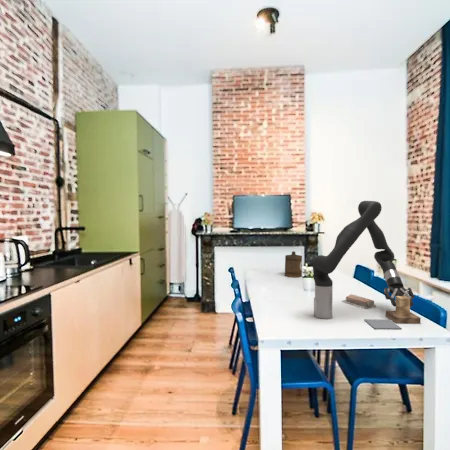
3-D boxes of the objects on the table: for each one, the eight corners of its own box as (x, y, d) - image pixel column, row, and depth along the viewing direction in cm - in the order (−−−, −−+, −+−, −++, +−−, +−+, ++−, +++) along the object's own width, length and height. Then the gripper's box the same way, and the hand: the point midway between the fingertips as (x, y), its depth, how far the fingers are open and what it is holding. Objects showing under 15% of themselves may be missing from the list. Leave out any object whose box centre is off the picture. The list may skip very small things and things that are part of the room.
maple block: (400, 315, 171) (400, 298, 171) (395, 312, 176) (395, 296, 176) (409, 315, 171) (410, 298, 171) (404, 312, 176) (405, 296, 176)
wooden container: (304, 277, 288) (304, 252, 288) (289, 277, 285) (289, 252, 284) (297, 274, 303) (297, 250, 302) (282, 274, 299) (282, 250, 299)
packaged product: (377, 299, 197) (365, 301, 193) (376, 307, 198) (365, 310, 193) (353, 293, 213) (341, 294, 209) (353, 300, 214) (341, 302, 209)
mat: (374, 329, 160) (374, 328, 160) (364, 320, 173) (364, 319, 173) (401, 329, 160) (401, 328, 160) (389, 320, 173) (389, 319, 173)
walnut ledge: (396, 323, 168) (396, 317, 168) (385, 316, 180) (385, 310, 180) (420, 323, 168) (420, 317, 167) (408, 316, 180) (408, 310, 179)
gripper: (382, 276, 181) (392, 302, 170) (408, 275, 181) (420, 302, 170) (378, 283, 187) (387, 309, 176) (403, 283, 186) (414, 309, 175)
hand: (403, 305), depth 173 cm, fingers open, 8 cm apart
